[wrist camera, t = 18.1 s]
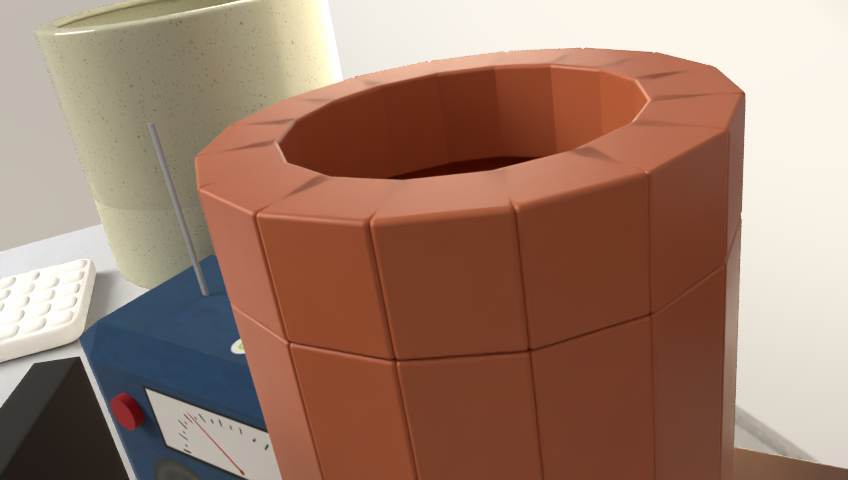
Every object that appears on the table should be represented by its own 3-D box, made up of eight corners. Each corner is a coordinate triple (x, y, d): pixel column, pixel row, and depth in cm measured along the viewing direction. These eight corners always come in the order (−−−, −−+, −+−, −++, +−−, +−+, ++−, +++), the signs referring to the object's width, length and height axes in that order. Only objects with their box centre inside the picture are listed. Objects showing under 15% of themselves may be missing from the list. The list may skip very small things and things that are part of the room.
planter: (235, 292, 59) (148, -9, 50) (422, 301, 54) (365, -36, 44) (104, 415, 47) (-46, 42, 37) (332, 443, 41) (224, 13, 31)
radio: (129, 536, 37) (-36, 158, 29) (255, 429, 44) (148, 93, 35) (497, 741, 26) (393, 204, 17) (596, 555, 32) (555, 95, 24)
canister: (260, 706, 16) (73, 198, 11) (439, 444, 23) (371, 55, 18) (680, 909, 12) (677, 247, 7) (747, 517, 19) (770, 38, 14)
